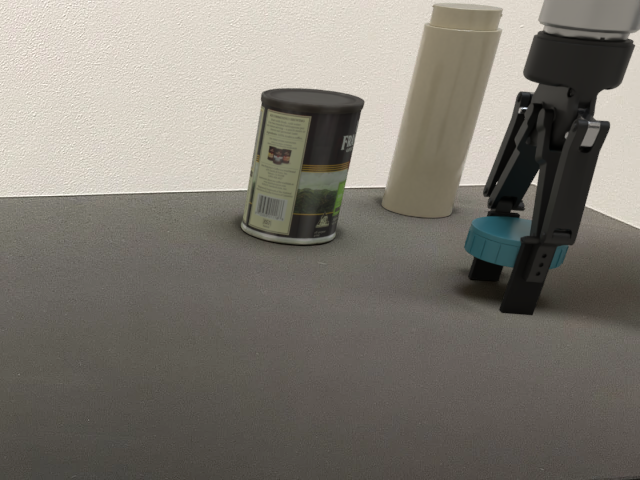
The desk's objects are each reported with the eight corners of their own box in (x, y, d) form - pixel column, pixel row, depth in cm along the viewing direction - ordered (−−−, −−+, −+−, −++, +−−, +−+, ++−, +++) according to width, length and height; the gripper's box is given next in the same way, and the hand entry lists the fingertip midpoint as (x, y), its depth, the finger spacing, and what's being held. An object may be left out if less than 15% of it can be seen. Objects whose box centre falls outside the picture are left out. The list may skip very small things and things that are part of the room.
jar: (452, 205, 118) (508, 6, 106) (449, 221, 112) (508, 12, 100) (384, 196, 121) (431, 1, 109) (377, 211, 114) (426, 6, 103)
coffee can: (336, 224, 109) (365, 92, 102) (333, 250, 101) (364, 109, 94) (245, 213, 112) (266, 83, 105) (234, 238, 104) (256, 99, 96)
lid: (461, 259, 87) (469, 233, 86) (466, 235, 94) (473, 210, 92) (562, 276, 84) (572, 249, 83) (560, 250, 91) (569, 225, 89)
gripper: (700, 54, 70) (586, 342, 82) (580, 20, 88) (501, 261, 100) (593, 47, 70) (495, 335, 82) (495, 15, 88) (427, 255, 100)
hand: (498, 294), depth 91 cm, fingers closed on lid, 8 cm apart
